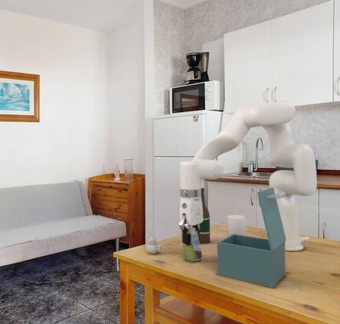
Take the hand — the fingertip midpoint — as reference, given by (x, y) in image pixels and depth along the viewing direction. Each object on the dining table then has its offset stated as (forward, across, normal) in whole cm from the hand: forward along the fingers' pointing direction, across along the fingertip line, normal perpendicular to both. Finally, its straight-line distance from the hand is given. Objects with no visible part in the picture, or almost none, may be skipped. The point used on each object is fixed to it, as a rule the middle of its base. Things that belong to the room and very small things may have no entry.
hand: (191, 241), depth 126 cm
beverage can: (+7, 0, 0) cm, 7 cm away
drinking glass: (+7, +16, -11) cm, 21 cm away
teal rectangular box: (+7, -1, -22) cm, 23 cm away
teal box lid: (-13, -1, -28) cm, 30 cm away
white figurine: (+7, -2, +15) cm, 17 cm away
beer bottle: (+7, +26, +8) cm, 28 cm away
